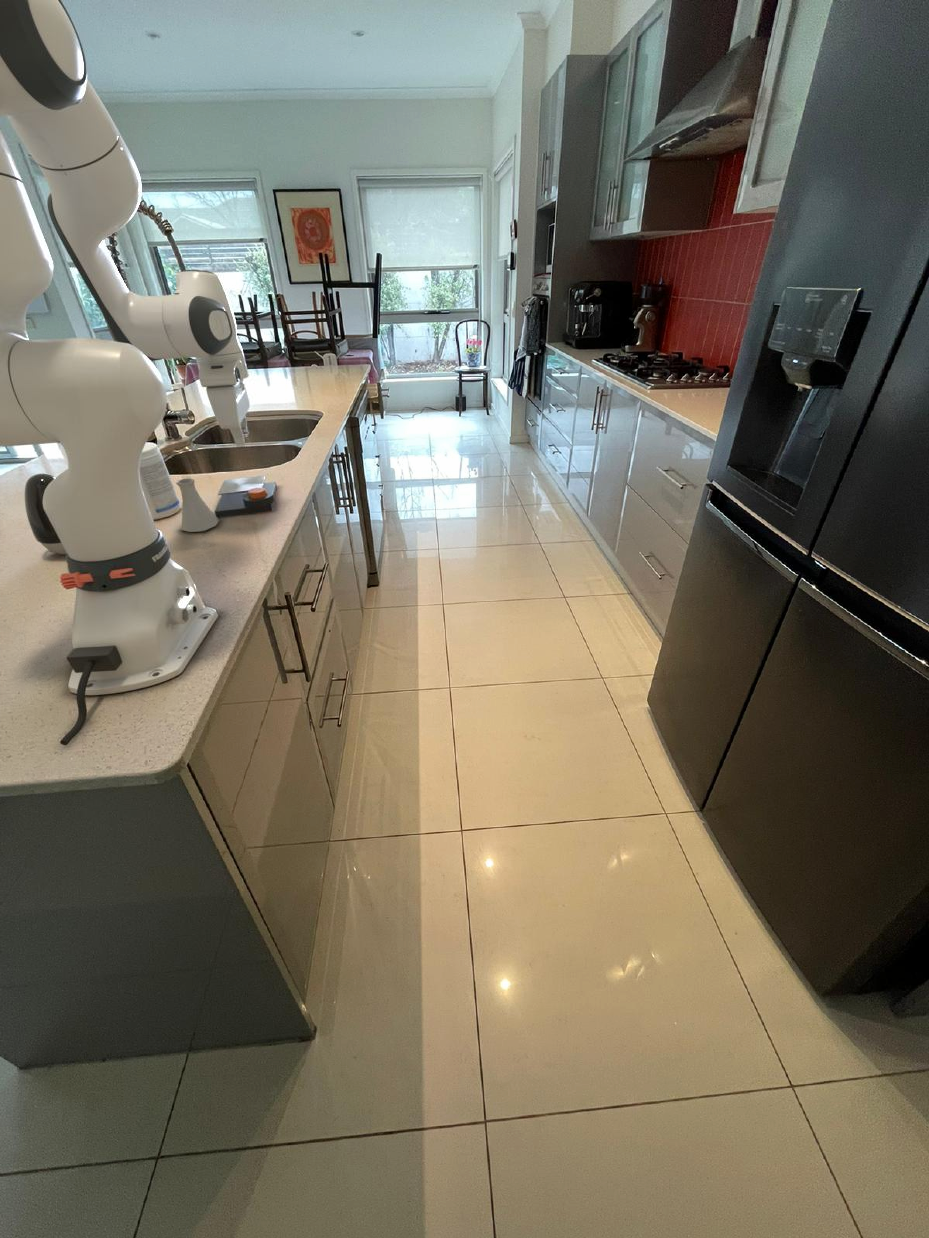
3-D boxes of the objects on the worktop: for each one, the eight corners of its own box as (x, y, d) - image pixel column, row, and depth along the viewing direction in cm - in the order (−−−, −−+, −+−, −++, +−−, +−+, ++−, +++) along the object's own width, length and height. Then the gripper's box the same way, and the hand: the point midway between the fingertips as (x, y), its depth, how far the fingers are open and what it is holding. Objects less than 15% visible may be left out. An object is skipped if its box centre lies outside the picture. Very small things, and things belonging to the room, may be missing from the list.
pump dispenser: (115, 544, 105) (81, 470, 96) (59, 565, 98) (17, 487, 89) (91, 533, 109) (57, 462, 101) (36, 552, 102) (-6, 478, 94)
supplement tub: (183, 502, 123) (160, 439, 114) (180, 517, 115) (155, 450, 107) (138, 509, 120) (112, 445, 112) (132, 524, 113) (103, 457, 104)
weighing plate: (261, 490, 119) (261, 489, 119) (218, 495, 117) (217, 493, 117) (265, 477, 127) (265, 475, 126) (224, 481, 125) (224, 480, 125)
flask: (205, 534, 107) (189, 487, 101) (175, 532, 108) (157, 486, 103) (225, 520, 113) (211, 475, 107) (196, 518, 114) (180, 474, 109)
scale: (275, 511, 116) (271, 498, 114) (216, 518, 114) (211, 505, 112) (279, 486, 129) (276, 475, 128) (226, 492, 127) (223, 480, 126)
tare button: (266, 498, 115) (264, 492, 115) (249, 500, 115) (247, 494, 114) (267, 493, 118) (265, 486, 118) (251, 495, 118) (249, 488, 117)
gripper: (215, 363, 110) (233, 429, 117) (196, 379, 93) (220, 455, 101) (246, 360, 111) (262, 427, 118) (233, 376, 94) (253, 452, 102)
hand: (242, 440), depth 110 cm, fingers open, 5 cm apart
